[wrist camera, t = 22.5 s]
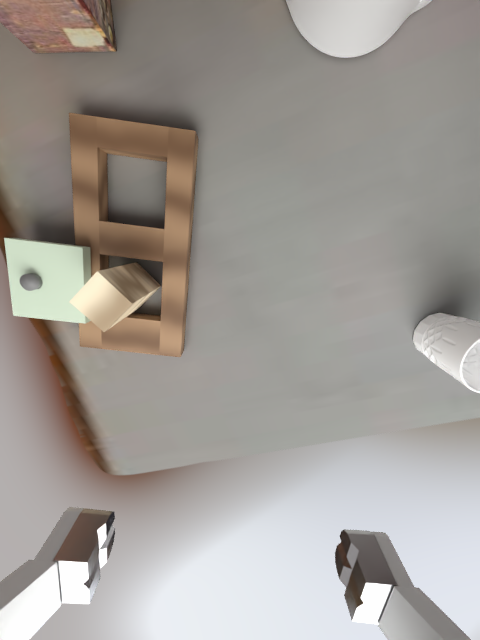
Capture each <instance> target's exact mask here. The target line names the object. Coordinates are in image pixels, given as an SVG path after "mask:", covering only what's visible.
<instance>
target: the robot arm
mask: <svg viewBox="0 0 480 640" xmlns="http://www.w3.org/2000/svg"><path fill="white" fill-rule="evenodd" d="M431 1H432V0H286V2H287V5H288V8H289V11H290V14H291V16H292V19H293V21H294V23H295V25H296V26H297V28H298V30H299V31H300V33H301V34H302V35H303V37H304V38H305V39H306V40H307V41H308V42H309V43H310V44H311V45H312V46H314V47H315V48H316V49H318V50H320V51H321V52H323V53H325V54H328V55H331V56H335V57H341V58H350V57H357V56H361V55H364V54H367V53H369V52H371V51H373V50H375V49H377V48H378V47H380V46H381V45H382V44H384V43H385V42H386V41H387V40H388V39H389V38H390V37H391V36H392V35H393V34H394V33H395V32H396V31H397V30H398V28H399V27H400V26H401V25H402V23H403V22H404V21H405V20H406V19H407V18H408V17H409V16H410V15H411V14H412V13H414V12H416V11H417V10H419V9H421V8H423V7H424V6H426V5H427V4H429V3H430V2H431ZM114 519H115V515H114V512H112V511H104V510H93V509H84V508H73V507H69V508H68V509H67V510H66V511H65V512H64V513H63V515H62V517H61V518H60V520H59V521H58V523H57V524H56V526H55V528H54V529H53V531H52V532H51V534H50V536H49V537H48V539H47V540H46V542H45V543H44V545H43V547H42V548H41V550H40V551H39V553H38V554H37V556H36V558H35V559H34V560H28V561H27V562H26V563H24V564H23V565H22V566H20V567H19V568H18V569H17V570H15V571H14V572H13V573H11V574H10V575H9V576H7V577H6V578H5V579H3V580H2V581H1V582H0V640H29V639H30V638H31V637H32V636H33V635H34V634H35V633H36V632H37V631H38V630H39V629H40V628H41V627H42V625H43V624H44V623H45V622H46V621H47V620H48V619H49V618H50V617H51V616H52V615H53V613H54V612H55V611H56V610H57V609H58V608H59V607H60V606H61V603H74V604H90V602H91V600H92V597H93V595H94V592H95V590H96V587H97V585H98V583H99V580H100V568H101V567H102V566H103V565H104V564H105V563H106V562H107V560H108V558H109V555H110V552H111V549H112V545H113V542H114V535H115V528H114V527H113V526H112V524H113V522H114ZM340 539H341V543H340V544H339V545H338V546H337V548H336V552H335V563H336V568H337V572H338V576H339V579H340V580H341V582H342V583H343V584H344V585H345V586H346V591H345V595H344V596H345V599H346V603H347V606H348V609H349V612H350V616H351V619H352V621H354V622H364V623H374V624H379V625H378V627H379V628H380V629H381V631H382V632H383V633H384V635H385V636H386V638H387V639H388V640H471V639H470V638H469V637H468V636H467V635H466V634H465V633H464V632H463V631H462V630H461V629H460V628H459V627H458V626H457V625H456V624H455V623H454V622H453V621H452V620H451V619H450V618H449V617H447V615H446V614H445V613H444V612H443V611H442V610H440V608H439V607H438V606H436V605H435V603H434V602H433V601H431V600H430V598H429V597H427V596H426V595H425V594H424V593H423V592H422V591H421V590H420V589H419V588H415V587H414V586H413V584H412V582H411V580H410V578H409V576H408V574H407V572H406V570H405V568H404V566H403V564H402V562H401V560H400V558H399V556H398V554H397V552H396V551H395V549H394V547H393V545H392V543H391V541H390V539H389V537H388V536H387V535H386V533H383V532H370V531H359V530H343V531H342V532H341V534H340Z"/></svg>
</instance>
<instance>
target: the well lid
mask: <svg viewBox="0 0 480 640" xmlns="http://www.w3.org/2000/svg"><path fill="white" fill-rule="evenodd" d="M4 240H5V249H6V257H7V266H8V274H9V283H10V291H11V300H12V309H13V315H14V316H21V317H30V318H39V319H48V320H57V321H66V322H75V323H84V324H86V323H88V322H89V321H91V320H89V319H88V318H87V317H86V316H85V315H84V314H83V313H81V312H80V311H79V310H78V309H77V308H76V307H75V306H73V305H72V304H71V303H70V302H69V301H70V300H71V299H72V298H73V297H74V296H75V295H76V294H77V293H78V292H79V291H80V289H81V288H82V287H83V286H84V285H85V284H86V283H87V282H88V281H89V280H90V279H91V254H90V247H85V246H77V245H69V244H61V243H53V242H45V241H37V240H28V239H20V238H4Z"/></svg>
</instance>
